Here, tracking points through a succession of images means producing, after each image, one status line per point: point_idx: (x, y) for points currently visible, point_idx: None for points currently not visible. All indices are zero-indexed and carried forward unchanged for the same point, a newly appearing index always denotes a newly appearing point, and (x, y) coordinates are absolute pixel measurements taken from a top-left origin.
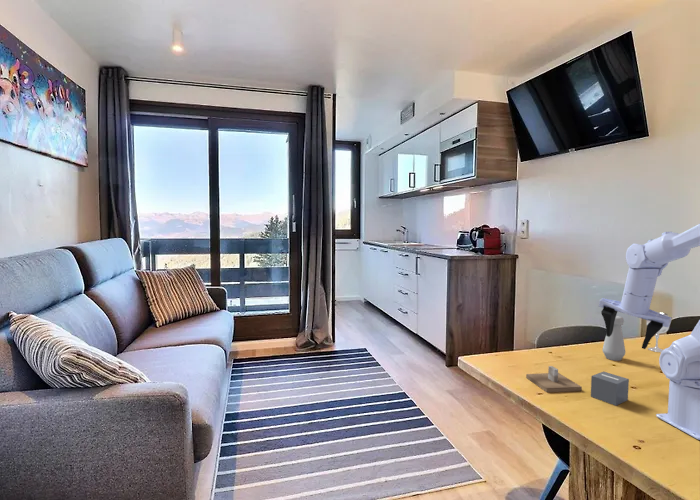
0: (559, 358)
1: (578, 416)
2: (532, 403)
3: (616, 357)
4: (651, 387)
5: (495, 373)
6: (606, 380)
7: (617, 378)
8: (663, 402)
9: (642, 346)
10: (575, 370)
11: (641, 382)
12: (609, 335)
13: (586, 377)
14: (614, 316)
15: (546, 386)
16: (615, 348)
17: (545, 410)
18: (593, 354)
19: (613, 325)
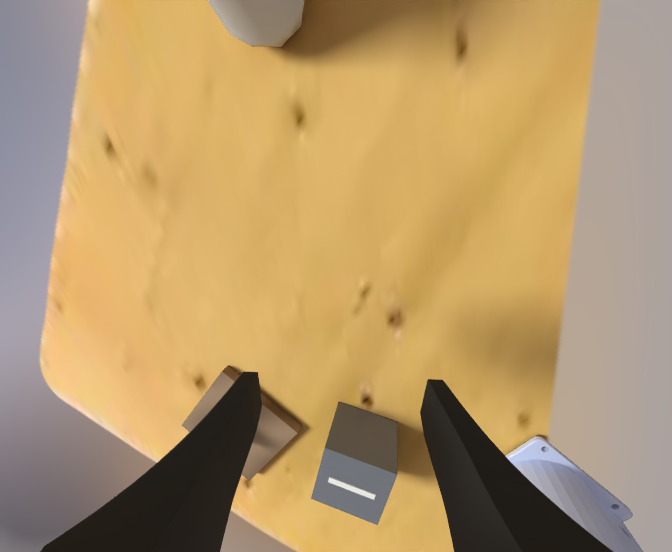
0: (158, 197)
1: (337, 542)
2: (259, 528)
3: (286, 37)
4: (440, 282)
5: (138, 429)
6: (350, 513)
7: (370, 485)
8: (476, 384)
9: (425, 427)
10: (236, 284)
11: (409, 254)
12: (259, 416)
13: (278, 323)
14: (194, 539)
15: (244, 471)
16: (263, 18)
17: (287, 544)
18: (203, 22)
19: (233, 421)
